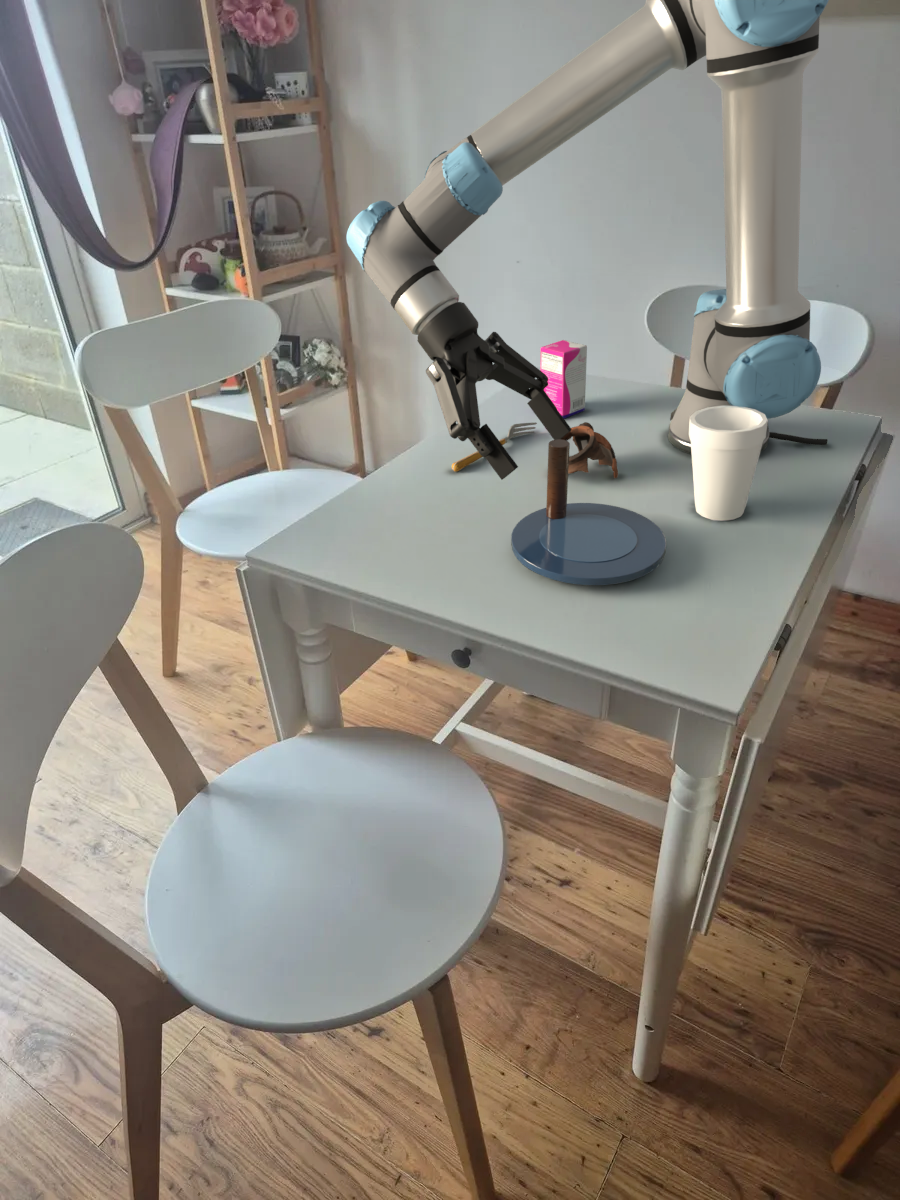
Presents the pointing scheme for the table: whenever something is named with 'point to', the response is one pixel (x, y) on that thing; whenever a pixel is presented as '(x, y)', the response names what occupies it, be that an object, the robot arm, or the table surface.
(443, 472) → the table surface
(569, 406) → the supplement box
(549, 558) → the blue disc with rod
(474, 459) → the fork
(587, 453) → the broken brown clay pot
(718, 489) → the foam cup
